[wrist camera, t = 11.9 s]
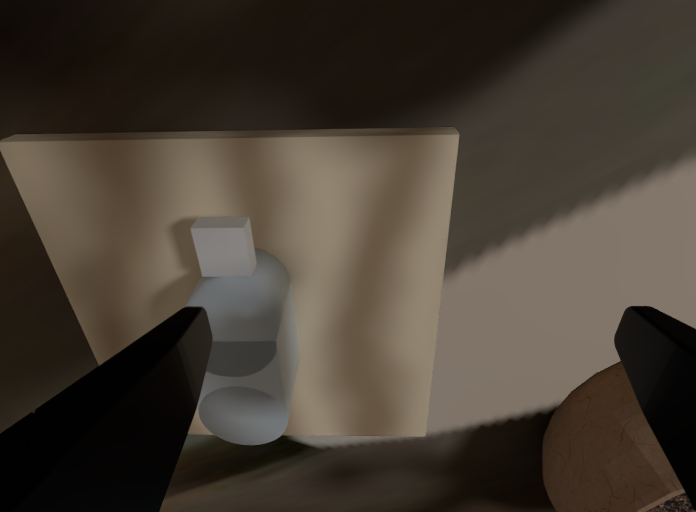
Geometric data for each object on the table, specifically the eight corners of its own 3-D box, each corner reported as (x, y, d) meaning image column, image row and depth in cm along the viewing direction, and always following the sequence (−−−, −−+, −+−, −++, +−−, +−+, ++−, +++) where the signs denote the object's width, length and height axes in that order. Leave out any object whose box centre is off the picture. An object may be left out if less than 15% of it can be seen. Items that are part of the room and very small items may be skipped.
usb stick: (302, 379, 26) (292, 445, 22) (230, 379, 26) (208, 444, 22) (281, 200, 20) (261, 248, 16) (187, 201, 20) (145, 249, 16)
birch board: (453, 127, 19) (459, 134, 18) (423, 421, 29) (425, 436, 28) (15, 134, 20) (-4, 142, 18) (138, 418, 30) (130, 433, 29)
